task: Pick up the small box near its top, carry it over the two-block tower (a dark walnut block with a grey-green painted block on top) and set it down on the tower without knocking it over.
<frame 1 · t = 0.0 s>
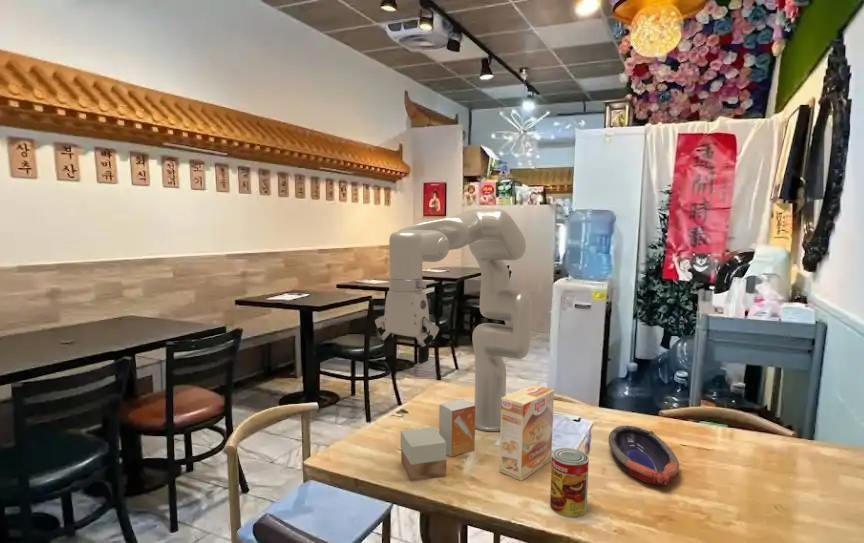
hand: (405, 358, 121), 31 cm above the table, tool pointing down, fingers open, 9 cm apart
tower base: (423, 470, 133), on the table, touching tower top
dish: (641, 464, 137), on the table
canned food: (568, 508, 116), on the table
small box: (456, 450, 144), on the table
tower top: (422, 453, 132), point 4 cm above the table, touching tower base
coffeecake box: (526, 466, 135), on the table
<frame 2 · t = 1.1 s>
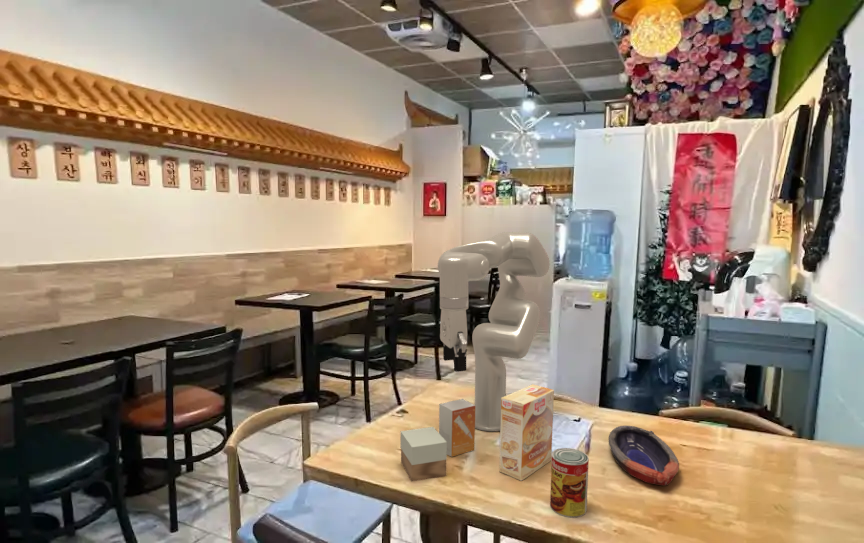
hand: (454, 365, 140), 24 cm above the table, tool pointing down, fingers open, 9 cm apart
tower base: (423, 470, 133), on the table
tower top: (423, 453, 132), point 4 cm above the table
everything else where it was.
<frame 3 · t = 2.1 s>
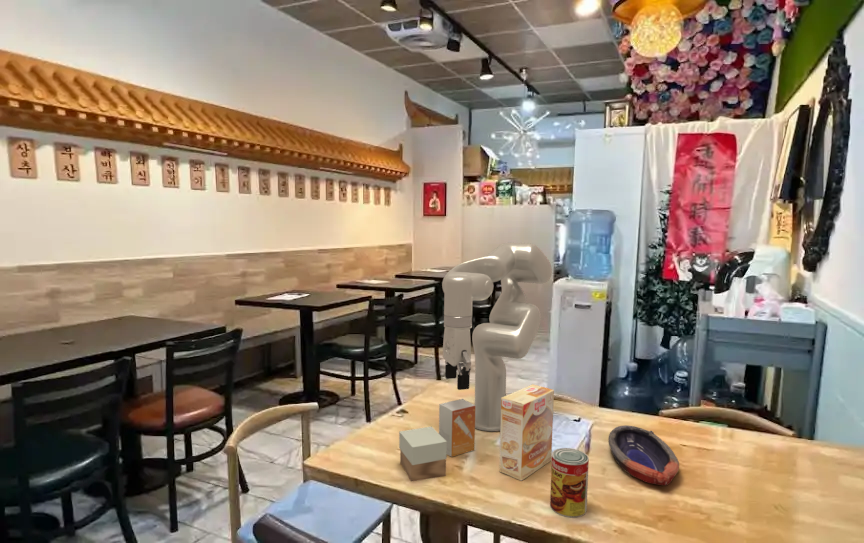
hand: (456, 383, 142), 19 cm above the table, tool pointing down, fingers open, 9 cm apart
tower base: (422, 470, 133), on the table, touching tower top
tower top: (422, 453, 132), point 4 cm above the table, touching tower base
everything else where it was.
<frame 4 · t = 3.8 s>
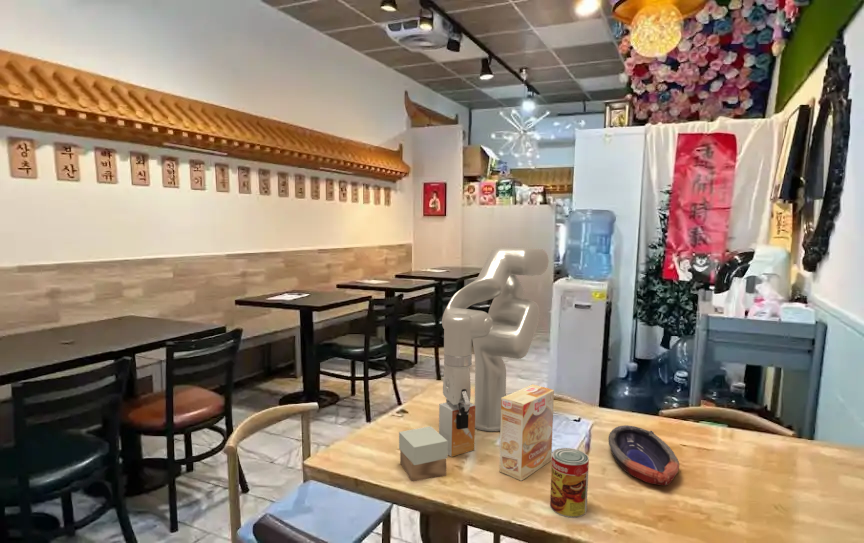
hand: (457, 422, 143), 8 cm above the table, tool pointing down, fingers closed on small box, 7 cm apart
small box: (456, 450, 144), on the table, touching gripper
everything else where it was.
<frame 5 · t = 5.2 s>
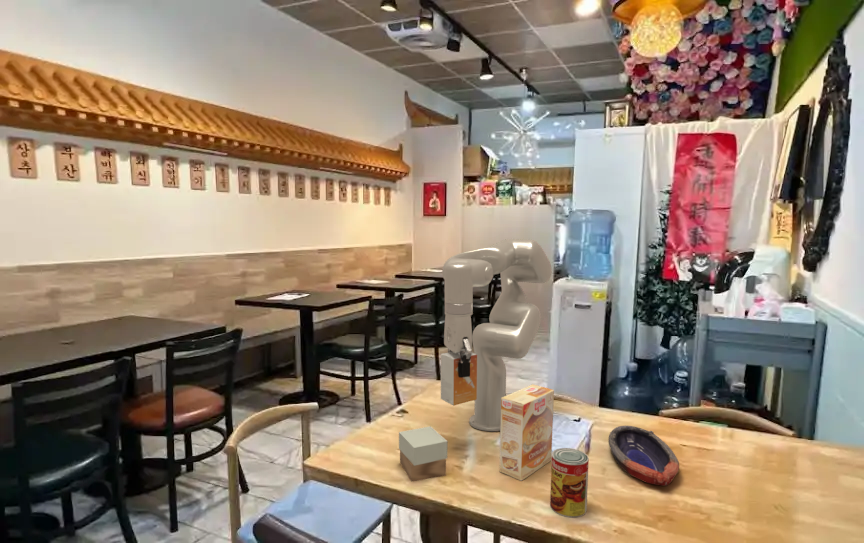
hand: (458, 371, 142), 22 cm above the table, tool pointing down, fingers closed on small box, 7 cm apart
small box: (458, 400, 143), point 14 cm above the table, touching gripper
everything else where it was.
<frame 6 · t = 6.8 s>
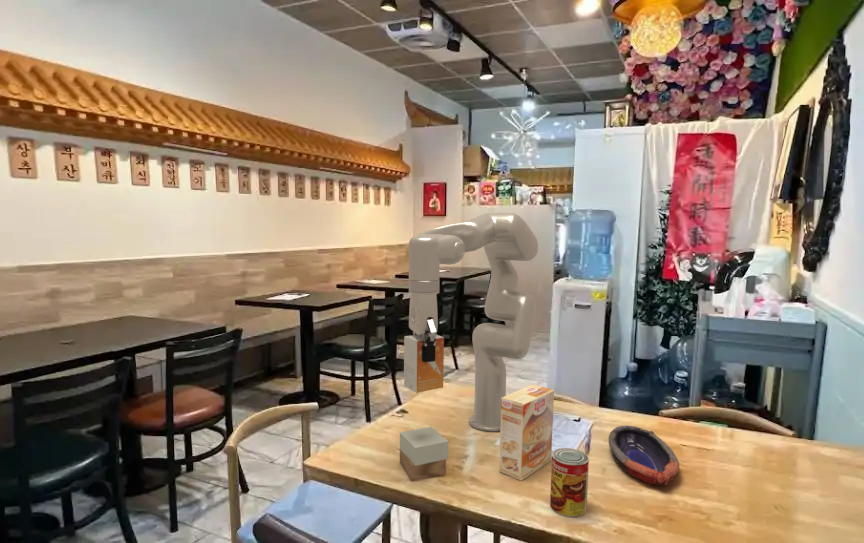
hand: (423, 356, 130), 29 cm above the table, tool pointing down, fingers closed on small box, 7 cm apart
small box: (423, 388, 130), point 21 cm above the table, touching gripper
everything else where it was.
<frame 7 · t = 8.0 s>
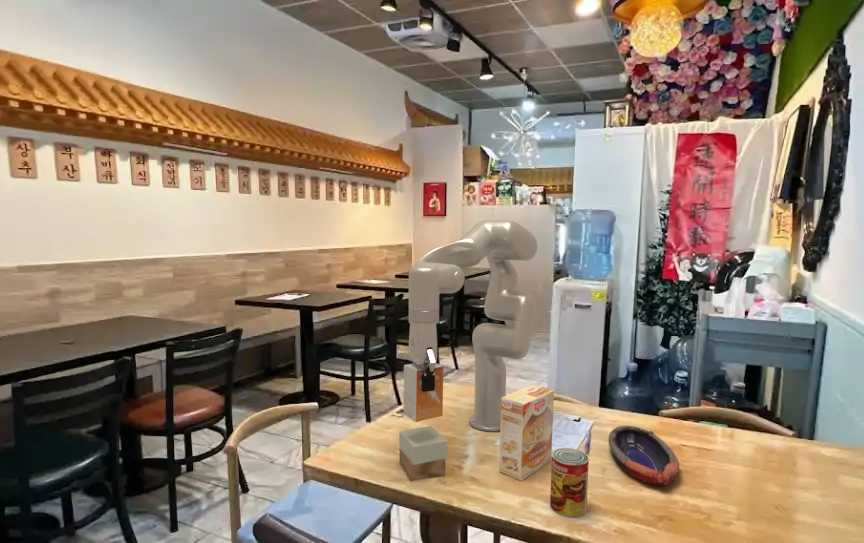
hand: (423, 385, 130), 22 cm above the table, tool pointing down, fingers closed on small box, 7 cm apart
small box: (423, 416, 131), point 14 cm above the table, touching gripper
everything else where it was.
when the fingers open (18 cm above the table, at t = 9.8 s): small box drops 1 cm, resting on tower top.
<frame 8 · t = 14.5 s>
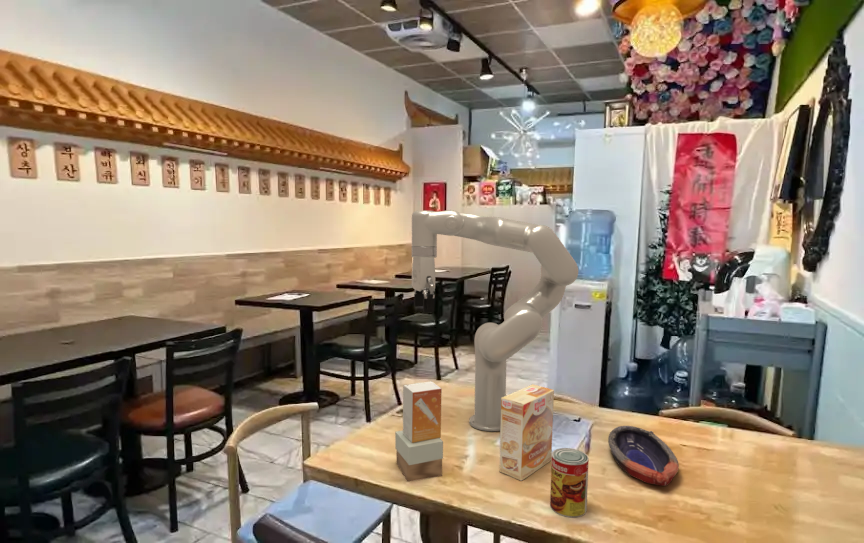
hand: (423, 308, 157), 36 cm above the table, tool pointing down, fingers open, 9 cm apart
small box: (421, 436, 132), point 8 cm above the table, touching tower top
tower top: (418, 453, 132), point 4 cm above the table, touching small box, tower base
everything else where it was.
at the end: small box inside the target area on the tower base (0.9 cm from its centre), point 8.8 cm above the tower base's base; small box tilted 0°; tower top moved 1.2 cm from its start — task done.
